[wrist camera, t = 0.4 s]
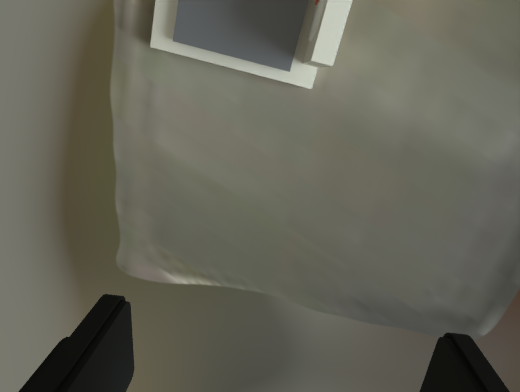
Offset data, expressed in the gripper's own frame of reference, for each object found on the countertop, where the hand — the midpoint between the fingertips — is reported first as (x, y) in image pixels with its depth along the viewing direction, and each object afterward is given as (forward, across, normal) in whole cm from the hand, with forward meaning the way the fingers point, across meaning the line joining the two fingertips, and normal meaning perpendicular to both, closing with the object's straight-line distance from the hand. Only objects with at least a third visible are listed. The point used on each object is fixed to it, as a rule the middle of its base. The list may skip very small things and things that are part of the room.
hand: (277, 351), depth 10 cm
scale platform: (+28, +5, -14) cm, 32 cm away
